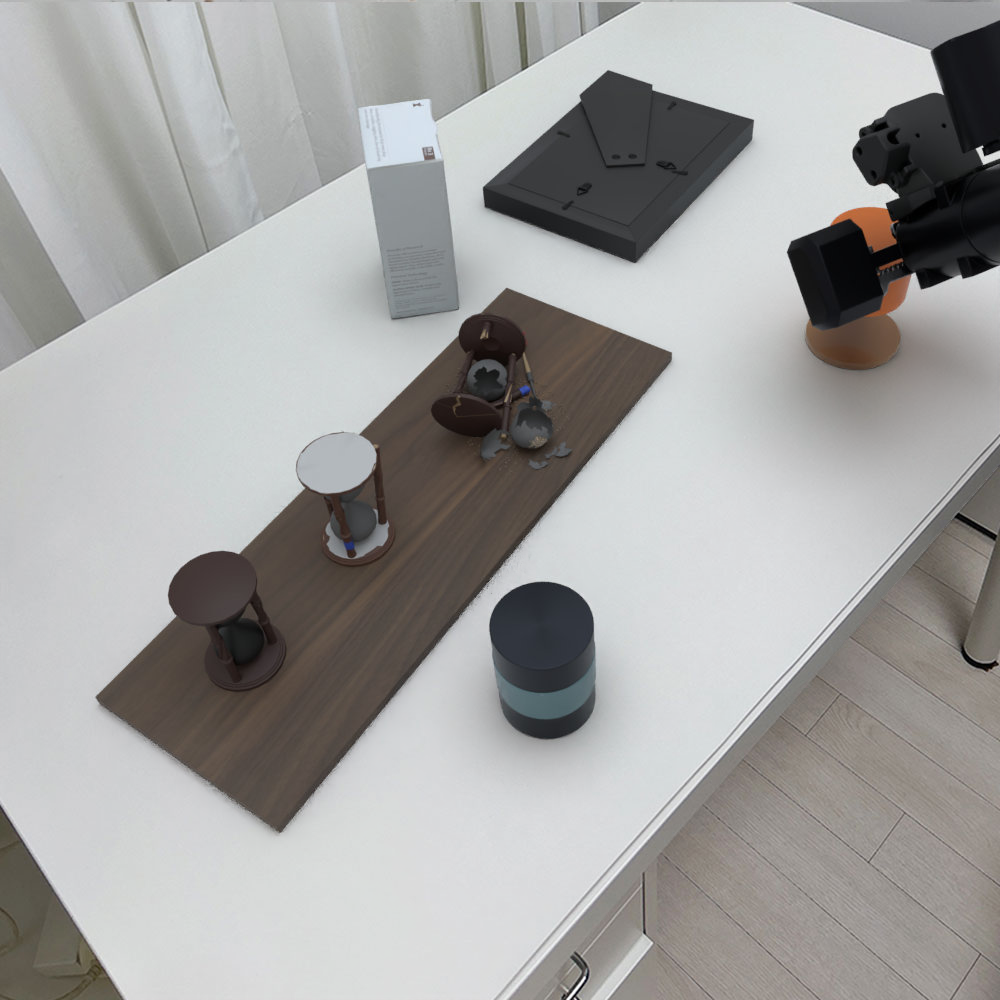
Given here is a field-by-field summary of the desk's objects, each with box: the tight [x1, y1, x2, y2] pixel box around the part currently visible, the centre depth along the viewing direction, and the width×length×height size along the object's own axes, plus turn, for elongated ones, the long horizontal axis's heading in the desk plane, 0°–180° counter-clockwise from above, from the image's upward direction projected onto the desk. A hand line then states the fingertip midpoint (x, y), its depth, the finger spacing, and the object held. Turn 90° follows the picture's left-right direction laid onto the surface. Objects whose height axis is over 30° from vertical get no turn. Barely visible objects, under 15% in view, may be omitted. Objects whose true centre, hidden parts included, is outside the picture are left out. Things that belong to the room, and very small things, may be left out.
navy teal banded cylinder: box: [488, 581, 597, 740], centre depth 64 cm, size 6×6×8 cm
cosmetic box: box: [357, 98, 460, 319], centre depth 87 cm, size 8×6×15 cm
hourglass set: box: [94, 287, 673, 834], centre depth 74 cm, size 15×45×8 cm, turn 145°
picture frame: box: [482, 69, 755, 263], centre depth 100 cm, size 16×3×21 cm
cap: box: [829, 206, 913, 317], centre depth 79 cm, size 6×6×5 cm
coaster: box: [804, 313, 902, 371], centre depth 85 cm, size 7×7×1 cm
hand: (854, 262), depth 81 cm, fingers closed on cap, 6 cm apart
